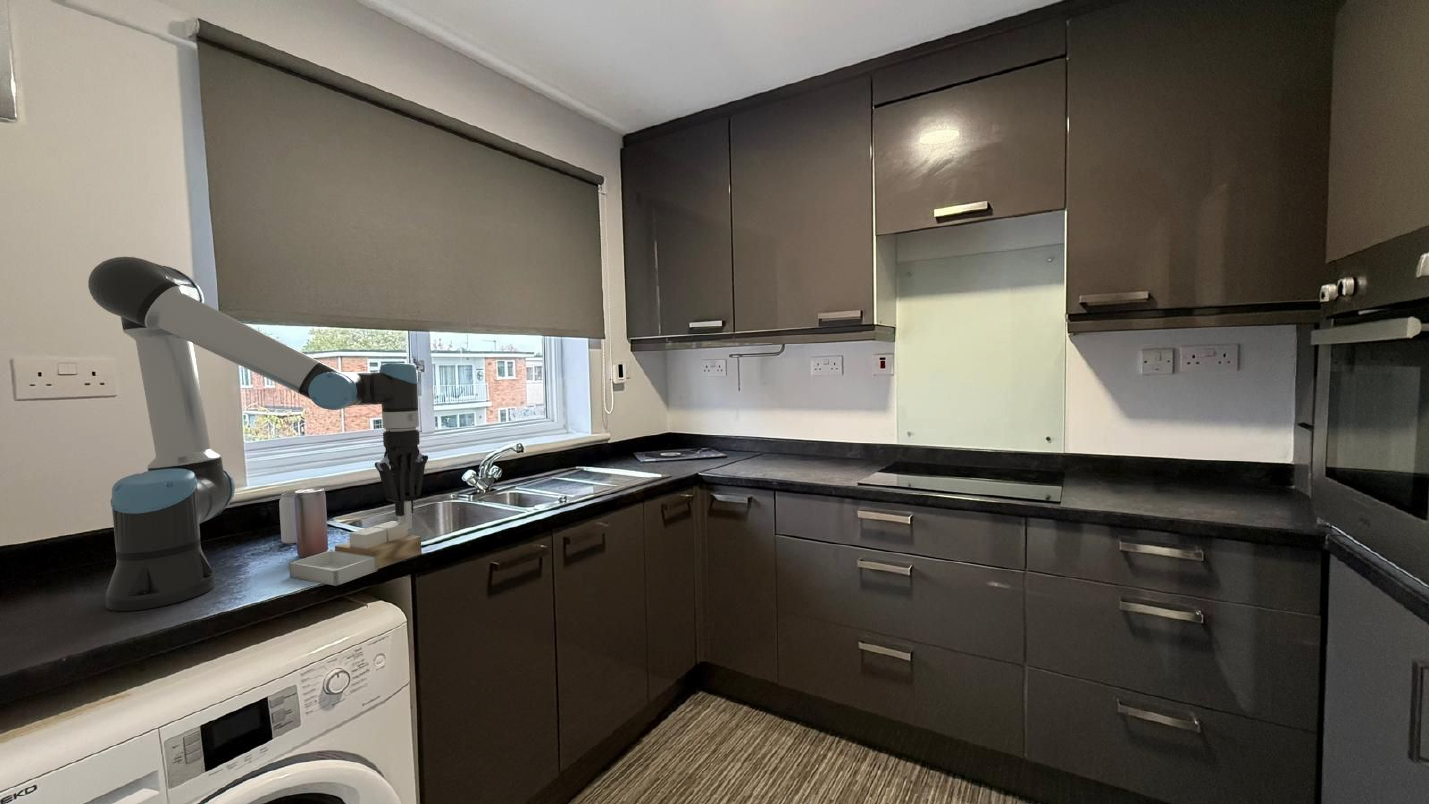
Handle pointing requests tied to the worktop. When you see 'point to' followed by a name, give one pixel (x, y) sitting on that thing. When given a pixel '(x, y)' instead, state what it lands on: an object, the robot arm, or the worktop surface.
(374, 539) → the tile front
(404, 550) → the board
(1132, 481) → the worktop surface
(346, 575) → the tray
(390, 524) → the tile rear
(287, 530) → the can
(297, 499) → the beverage can
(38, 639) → the worktop surface
